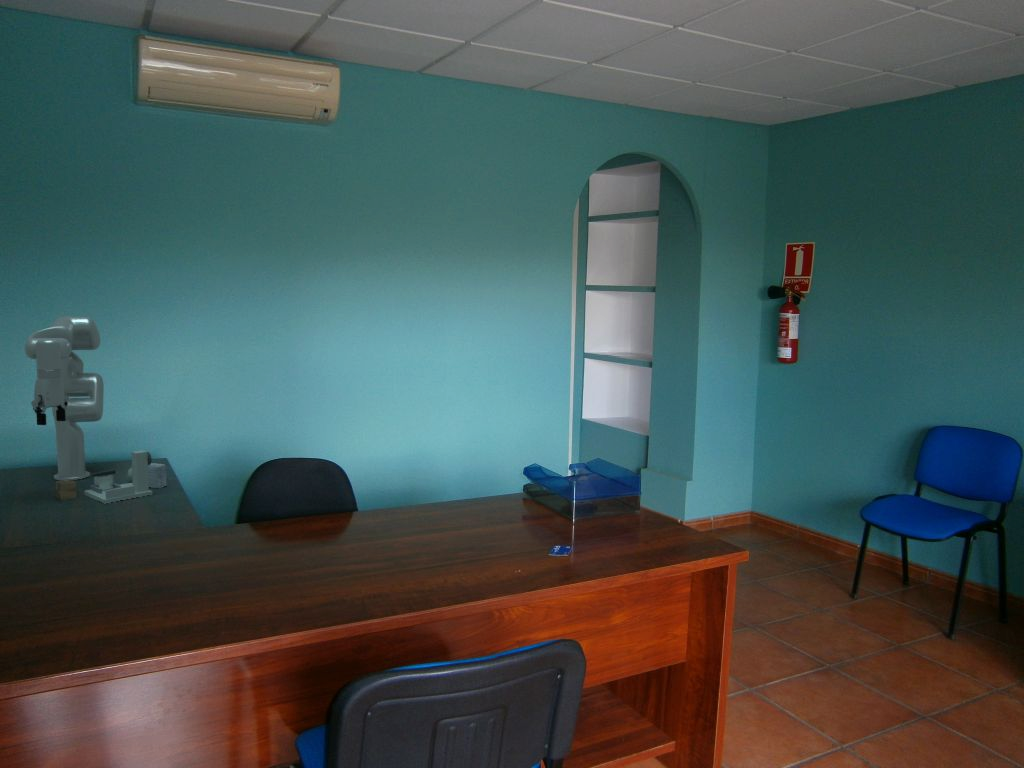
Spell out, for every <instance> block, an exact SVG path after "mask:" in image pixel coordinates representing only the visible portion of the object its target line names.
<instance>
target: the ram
mask: <svg viewBox="0 0 1024 768" xmlns="http://www.w3.org/2000/svg"><path fill="white" fill-rule="evenodd" d="M114 474H116V470H115V469H111V470H103V471H97V472H92V473H91V472H90V476H91V478H93V479H94V480H93V481H94V483H93V485H94V486H96V487H99V488H101V489H102V490H105V489H111V488H113V483H114Z"/></svg>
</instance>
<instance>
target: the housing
mask: <svg viewBox="0 0 1024 768" xmlns="http://www.w3.org/2000/svg"><path fill="white" fill-rule="evenodd" d="M55 492H56V493H55V494H56V495H55V498H56V499H58V500H60V501H69V500H72V499H73V498H74V499H78V496H77V495H78V494H77V493H78V492H77V481H76V480H71V479H70V480H64V481H61V480H57V481H55ZM74 499H73V500H74Z"/></svg>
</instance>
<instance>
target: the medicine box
mask: <svg viewBox="0 0 1024 768" xmlns="http://www.w3.org/2000/svg"><path fill="white" fill-rule="evenodd" d="M166 469H167V467H166V464H163V463H155V462H154V463H153V462H151V464H150V465H148V485H149V487H151V489H157V488H159V489H162V488H164V486H166V487H167V472H166V471H167V470H166ZM161 487H162V488H161Z"/></svg>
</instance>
